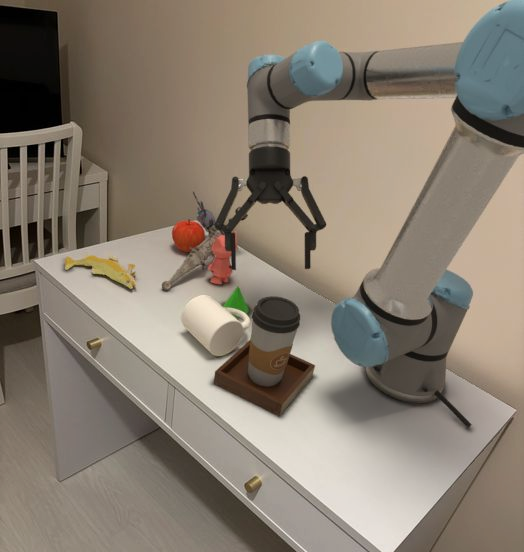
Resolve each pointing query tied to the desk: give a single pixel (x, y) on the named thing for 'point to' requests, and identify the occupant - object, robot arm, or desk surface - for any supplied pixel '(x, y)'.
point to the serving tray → (269, 397)
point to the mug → (214, 324)
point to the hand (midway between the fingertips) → (270, 269)
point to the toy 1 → (106, 268)
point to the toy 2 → (205, 216)
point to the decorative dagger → (197, 255)
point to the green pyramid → (237, 302)
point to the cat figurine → (220, 261)
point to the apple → (187, 235)
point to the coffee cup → (271, 339)
